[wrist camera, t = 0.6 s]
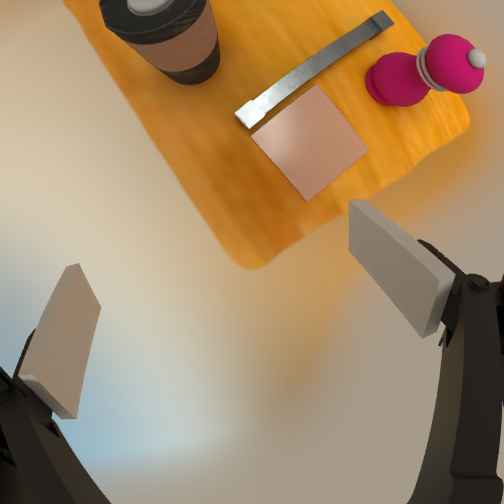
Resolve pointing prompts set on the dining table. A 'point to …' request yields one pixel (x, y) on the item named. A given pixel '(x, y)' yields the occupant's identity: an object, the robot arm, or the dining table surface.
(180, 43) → the travel mug
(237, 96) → the dining table surface
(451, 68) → the pepper mill
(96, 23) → the dining table surface
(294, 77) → the handrail
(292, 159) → the end tile
